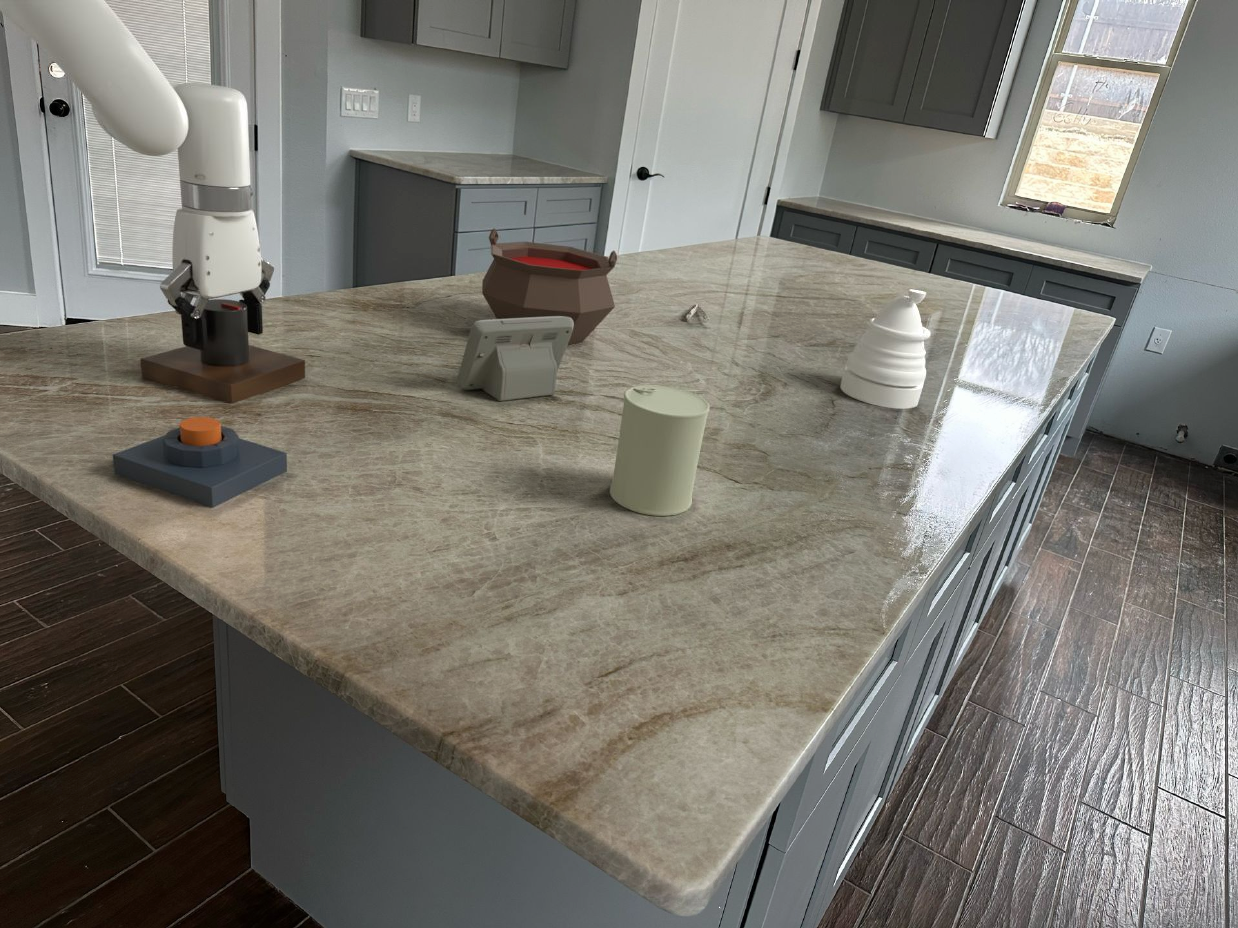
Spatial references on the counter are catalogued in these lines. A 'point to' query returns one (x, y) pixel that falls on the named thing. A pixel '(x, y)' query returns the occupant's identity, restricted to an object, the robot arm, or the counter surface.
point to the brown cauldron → (549, 283)
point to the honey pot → (890, 357)
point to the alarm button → (200, 431)
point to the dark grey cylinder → (226, 333)
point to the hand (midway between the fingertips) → (224, 339)
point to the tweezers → (699, 312)
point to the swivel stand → (223, 373)
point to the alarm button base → (201, 466)
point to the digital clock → (515, 356)
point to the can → (658, 449)
